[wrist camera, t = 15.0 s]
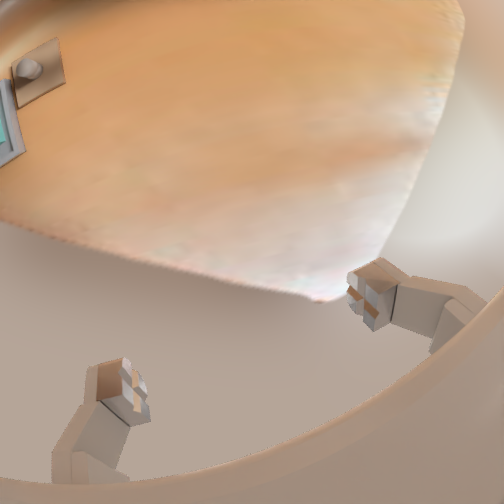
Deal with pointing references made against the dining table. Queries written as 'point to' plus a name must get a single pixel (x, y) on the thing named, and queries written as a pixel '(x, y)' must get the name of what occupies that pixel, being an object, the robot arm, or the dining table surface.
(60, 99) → the dining table surface
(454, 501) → the robot arm
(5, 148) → the tray
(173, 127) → the dining table surface
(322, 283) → the dining table surface
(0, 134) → the ring
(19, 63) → the stake
